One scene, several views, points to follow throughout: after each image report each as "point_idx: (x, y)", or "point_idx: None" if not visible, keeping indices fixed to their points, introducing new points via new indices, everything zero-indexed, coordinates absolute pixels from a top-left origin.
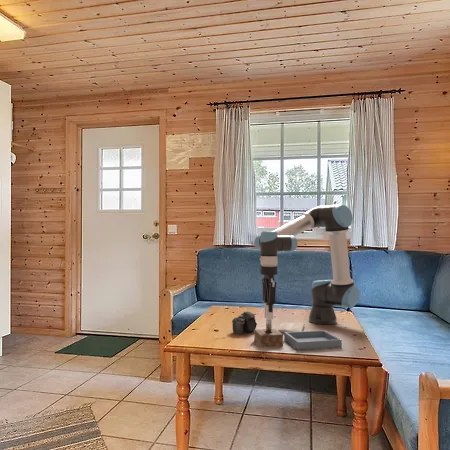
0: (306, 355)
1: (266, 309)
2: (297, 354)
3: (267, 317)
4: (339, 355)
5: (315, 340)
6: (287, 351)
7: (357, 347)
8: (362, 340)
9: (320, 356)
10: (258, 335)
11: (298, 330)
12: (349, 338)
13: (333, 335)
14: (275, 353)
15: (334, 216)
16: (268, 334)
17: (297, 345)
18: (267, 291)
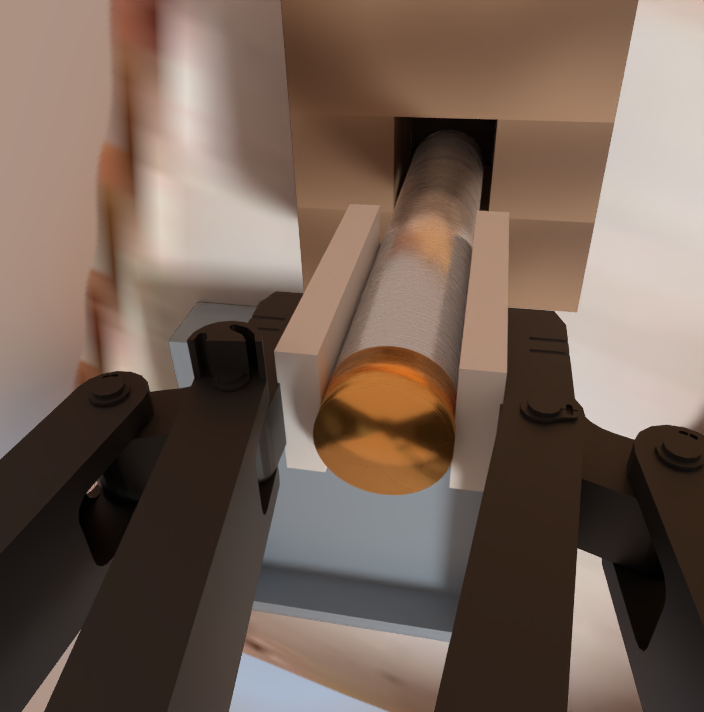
0: (89, 310)
1: (394, 296)
2: (106, 258)
3: (344, 222)
4: None
5: (380, 511)
6: (179, 212)
7: (254, 623)
8: (378, 702)
9: (77, 382)
10: None
11: None
12: (432, 682)
13: (336, 622)
14: (118, 76)
15: None
16: (327, 127)
17: (192, 324)
18: (129, 692)
